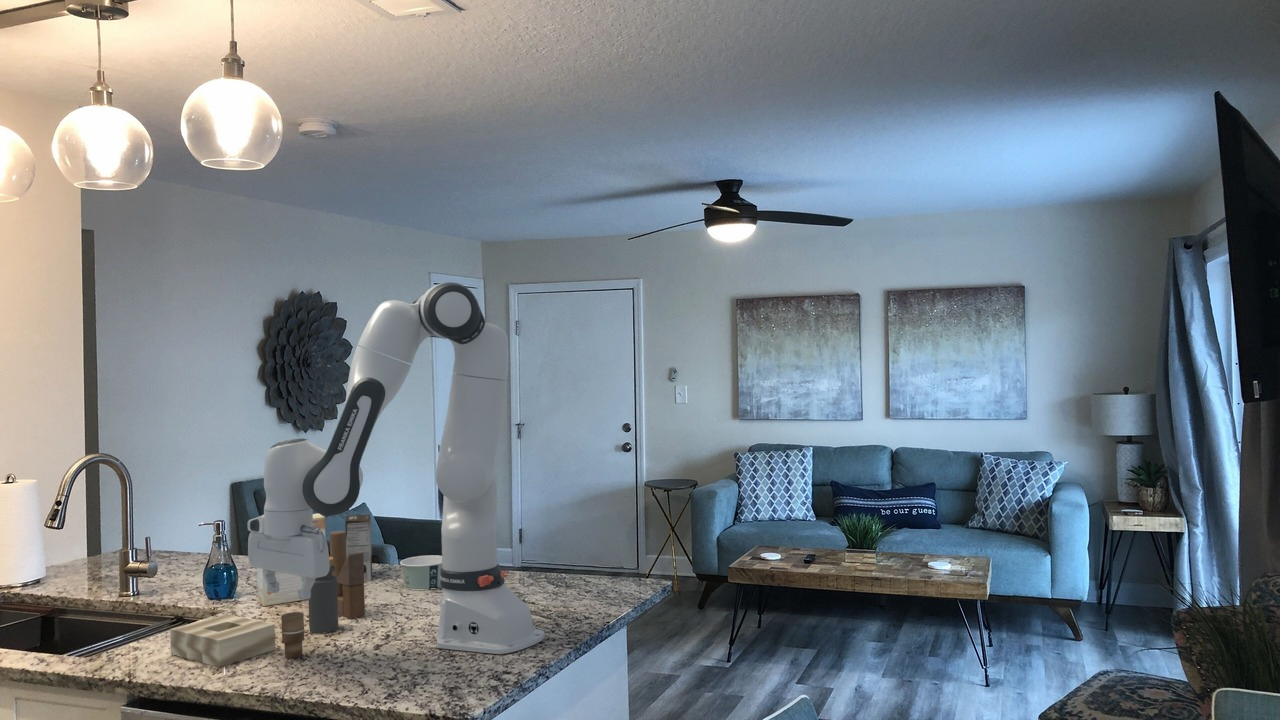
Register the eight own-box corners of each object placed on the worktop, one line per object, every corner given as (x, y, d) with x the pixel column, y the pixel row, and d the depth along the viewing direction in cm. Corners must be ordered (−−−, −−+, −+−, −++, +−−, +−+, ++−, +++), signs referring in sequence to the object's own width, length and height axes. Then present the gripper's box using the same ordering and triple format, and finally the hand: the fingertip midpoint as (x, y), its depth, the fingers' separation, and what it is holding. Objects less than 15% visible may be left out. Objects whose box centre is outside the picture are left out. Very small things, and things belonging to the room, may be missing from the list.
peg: (309, 654, 181) (308, 613, 181) (291, 660, 178) (290, 618, 178) (295, 651, 183) (294, 610, 183) (277, 657, 180) (276, 616, 180)
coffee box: (347, 576, 249) (345, 515, 249) (372, 573, 251) (370, 513, 251) (346, 583, 240) (344, 520, 240) (372, 581, 242) (370, 518, 242)
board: (275, 649, 185) (274, 624, 185) (219, 667, 175) (218, 640, 175) (226, 638, 194) (226, 614, 194) (170, 654, 184) (170, 629, 184)
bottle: (309, 627, 200) (306, 557, 200) (337, 624, 202) (335, 554, 202) (309, 634, 195) (307, 562, 195) (339, 631, 197) (337, 559, 197)
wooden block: (350, 619, 206) (348, 537, 206) (328, 611, 213) (325, 532, 213) (365, 616, 208) (363, 535, 208) (343, 607, 216) (341, 529, 216)
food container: (394, 585, 237) (393, 559, 237) (439, 578, 244) (438, 553, 244) (410, 594, 227) (409, 567, 227) (457, 586, 233) (456, 560, 233)
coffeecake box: (321, 591, 233) (318, 512, 233) (328, 596, 227) (326, 516, 227) (257, 600, 225) (254, 519, 225) (263, 607, 219) (260, 523, 219)
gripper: (337, 526, 177) (337, 599, 177) (270, 516, 188) (270, 585, 188) (309, 531, 172) (309, 606, 172) (241, 521, 183) (241, 591, 183)
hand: (288, 595), depth 180 cm, fingers open, 8 cm apart
